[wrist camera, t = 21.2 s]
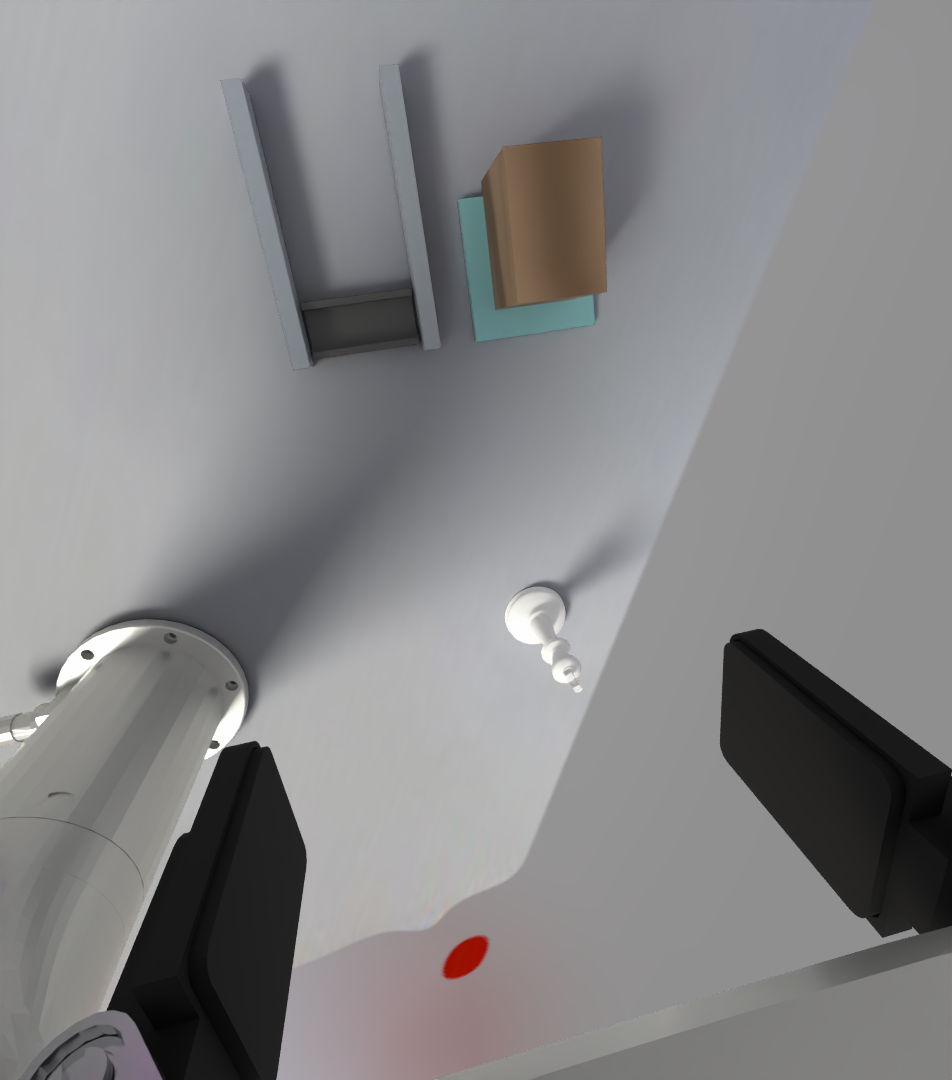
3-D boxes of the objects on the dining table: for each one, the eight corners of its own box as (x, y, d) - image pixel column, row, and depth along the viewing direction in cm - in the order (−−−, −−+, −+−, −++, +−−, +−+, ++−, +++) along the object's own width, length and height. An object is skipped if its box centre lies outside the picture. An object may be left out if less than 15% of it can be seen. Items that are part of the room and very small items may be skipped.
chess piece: (545, 574, 42) (593, 640, 32) (574, 618, 44) (626, 693, 34) (493, 608, 42) (525, 683, 33) (524, 651, 44) (562, 733, 35)
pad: (475, 342, 35) (476, 342, 34) (457, 201, 32) (458, 198, 31) (591, 325, 36) (594, 324, 35) (584, 186, 33) (587, 183, 32)
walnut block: (495, 310, 34) (517, 303, 28) (481, 181, 31) (503, 146, 26) (570, 299, 34) (606, 291, 29) (562, 172, 32) (601, 136, 26)
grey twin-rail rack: (298, 368, 34) (293, 370, 32) (230, 97, 28) (220, 80, 27) (437, 347, 35) (441, 348, 33) (397, 81, 29) (398, 64, 28)
